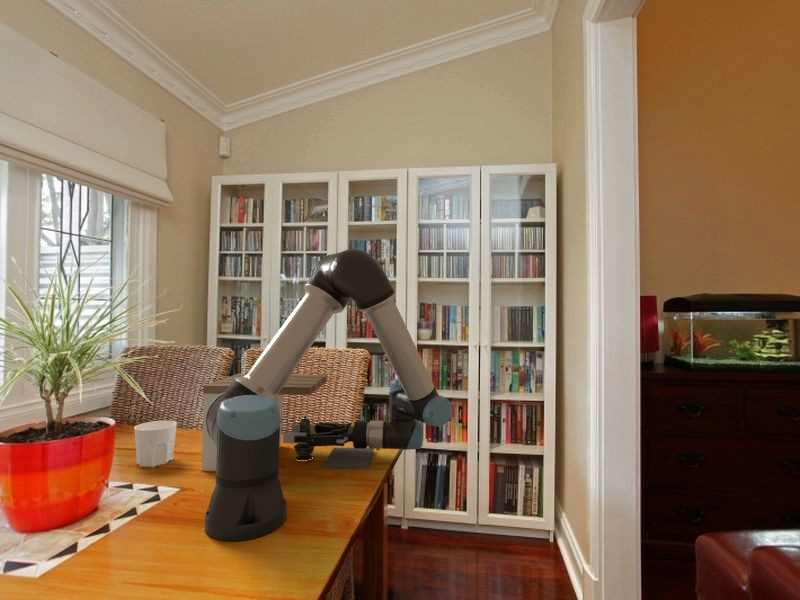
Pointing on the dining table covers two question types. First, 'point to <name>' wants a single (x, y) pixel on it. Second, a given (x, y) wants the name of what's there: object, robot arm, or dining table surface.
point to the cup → (155, 442)
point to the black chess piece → (303, 448)
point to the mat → (349, 458)
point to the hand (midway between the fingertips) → (288, 433)
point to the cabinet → (291, 387)
